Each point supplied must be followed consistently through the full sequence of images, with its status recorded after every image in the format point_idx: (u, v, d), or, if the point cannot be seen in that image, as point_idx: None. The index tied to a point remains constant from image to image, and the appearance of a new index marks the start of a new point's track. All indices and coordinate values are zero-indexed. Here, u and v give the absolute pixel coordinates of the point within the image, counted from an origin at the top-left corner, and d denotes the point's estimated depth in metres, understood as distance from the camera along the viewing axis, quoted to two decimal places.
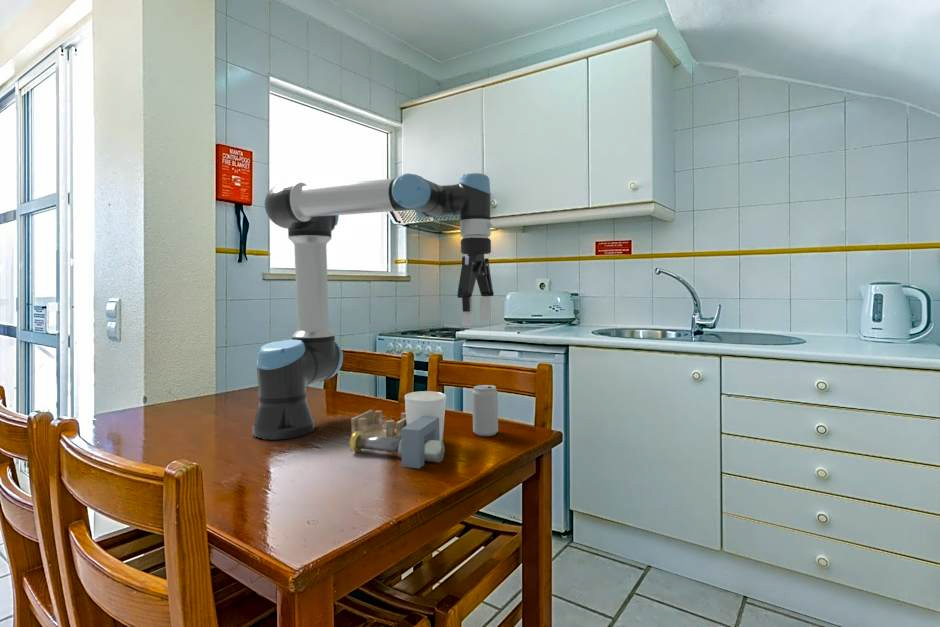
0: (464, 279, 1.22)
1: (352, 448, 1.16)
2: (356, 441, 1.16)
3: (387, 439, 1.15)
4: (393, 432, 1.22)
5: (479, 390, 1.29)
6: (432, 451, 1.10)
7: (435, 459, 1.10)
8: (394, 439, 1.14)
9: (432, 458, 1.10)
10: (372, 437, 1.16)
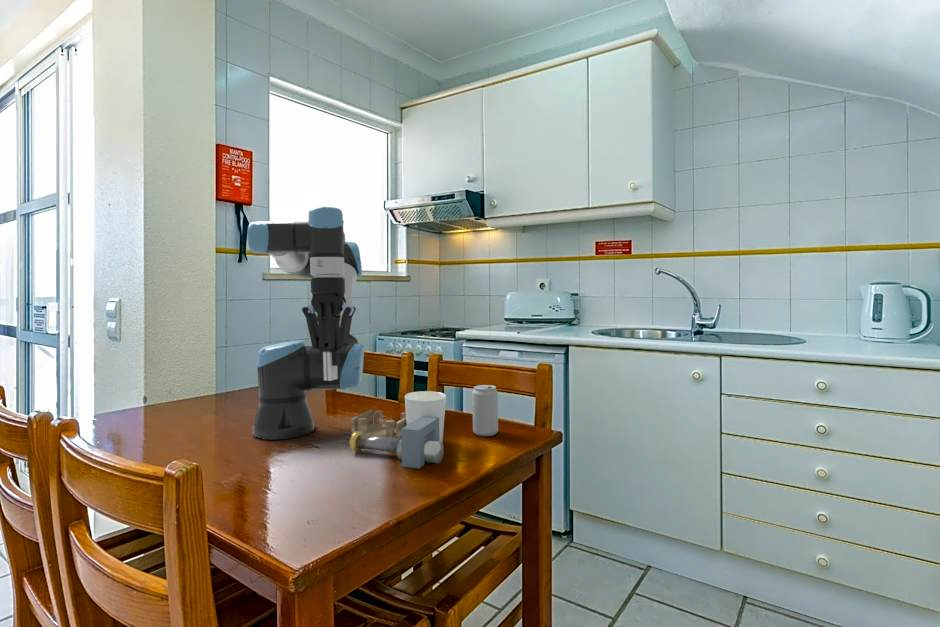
0: None
1: (352, 448, 1.16)
2: (356, 441, 1.16)
3: (387, 439, 1.15)
4: (393, 432, 1.22)
5: (479, 390, 1.29)
6: (431, 455, 1.09)
7: (434, 461, 1.10)
8: (394, 439, 1.14)
9: (431, 461, 1.10)
10: (372, 437, 1.16)
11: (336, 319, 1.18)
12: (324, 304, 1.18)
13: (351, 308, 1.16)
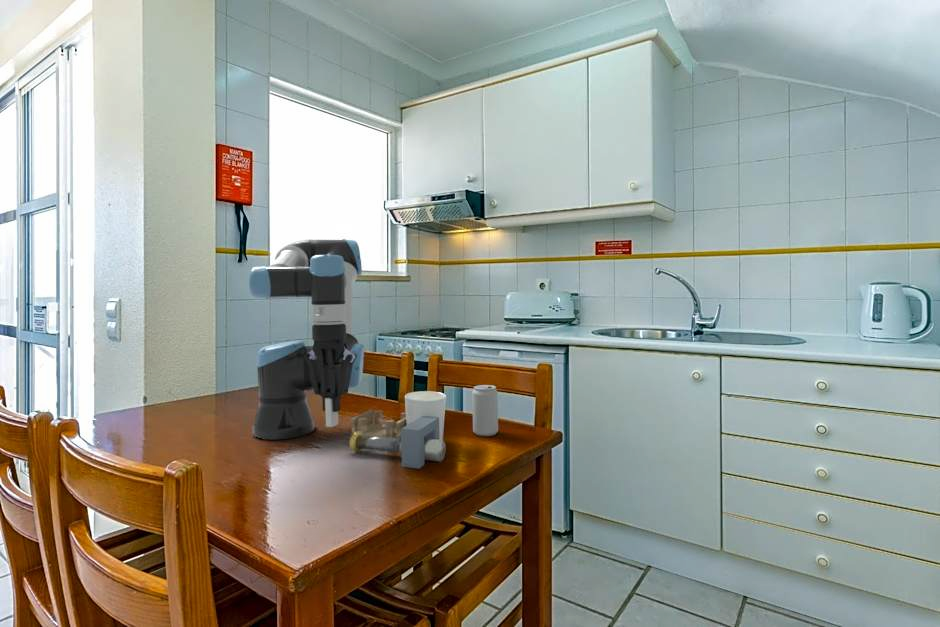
0: None
1: (352, 448, 1.16)
2: (356, 441, 1.16)
3: (387, 439, 1.15)
4: (393, 432, 1.22)
5: (479, 390, 1.29)
6: (433, 448, 1.10)
7: (435, 456, 1.10)
8: (394, 439, 1.14)
9: (432, 455, 1.10)
10: (372, 437, 1.16)
11: (337, 365, 1.19)
12: (325, 351, 1.18)
13: (352, 355, 1.17)
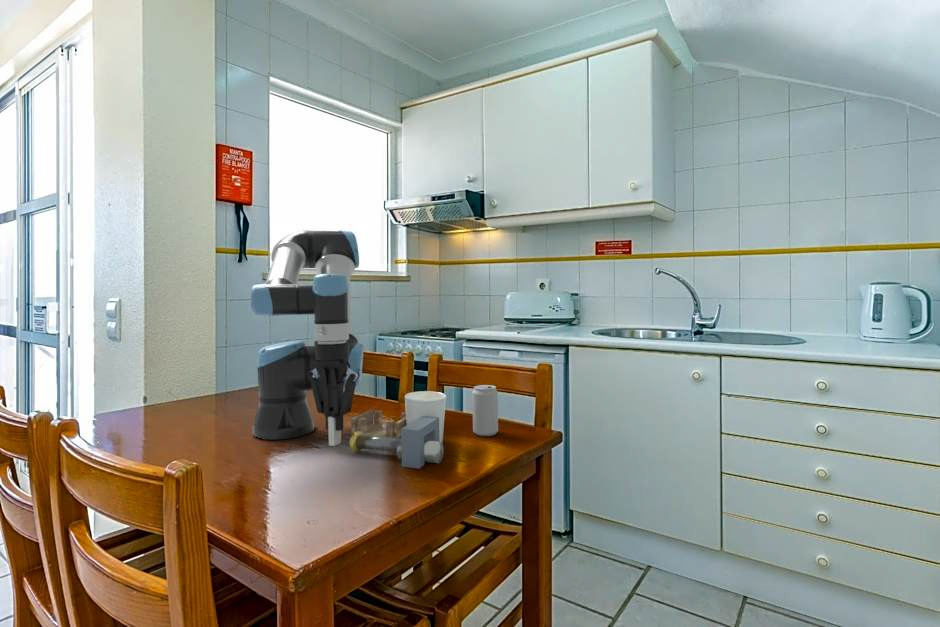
0: None
1: (352, 448, 1.16)
2: (356, 441, 1.16)
3: (387, 439, 1.15)
4: (393, 432, 1.22)
5: (479, 390, 1.29)
6: (431, 455, 1.09)
7: (434, 461, 1.10)
8: (394, 439, 1.14)
9: (431, 461, 1.10)
10: (372, 437, 1.16)
11: (340, 384, 1.19)
12: (328, 369, 1.18)
13: (355, 374, 1.17)
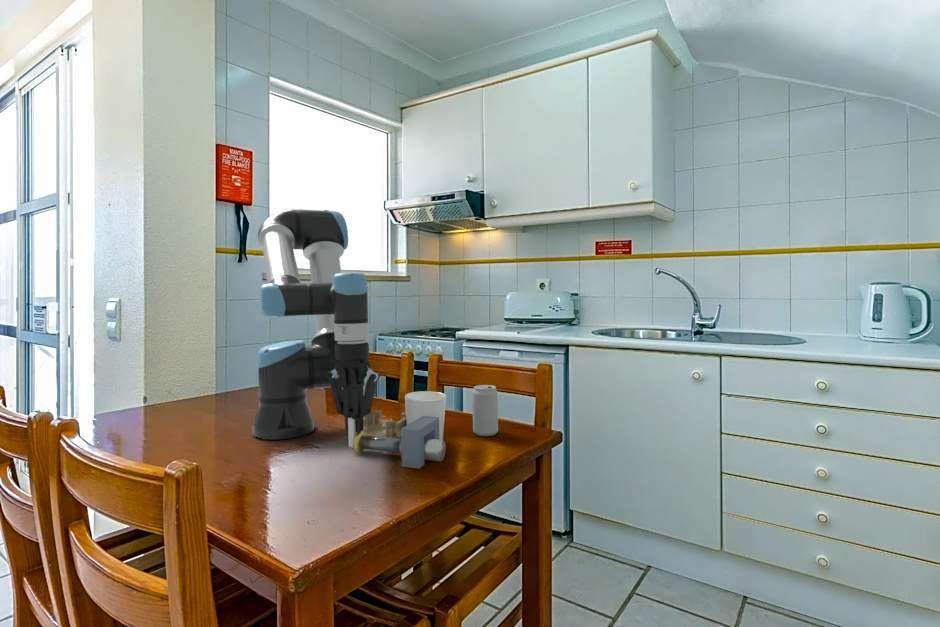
0: None
1: (355, 448, 1.16)
2: (359, 441, 1.16)
3: (391, 439, 1.14)
4: (393, 432, 1.22)
5: (479, 390, 1.29)
6: (434, 448, 1.10)
7: (435, 456, 1.10)
8: (398, 439, 1.14)
9: (432, 455, 1.10)
10: (376, 438, 1.16)
11: (360, 384, 1.17)
12: (348, 370, 1.16)
13: (376, 375, 1.15)
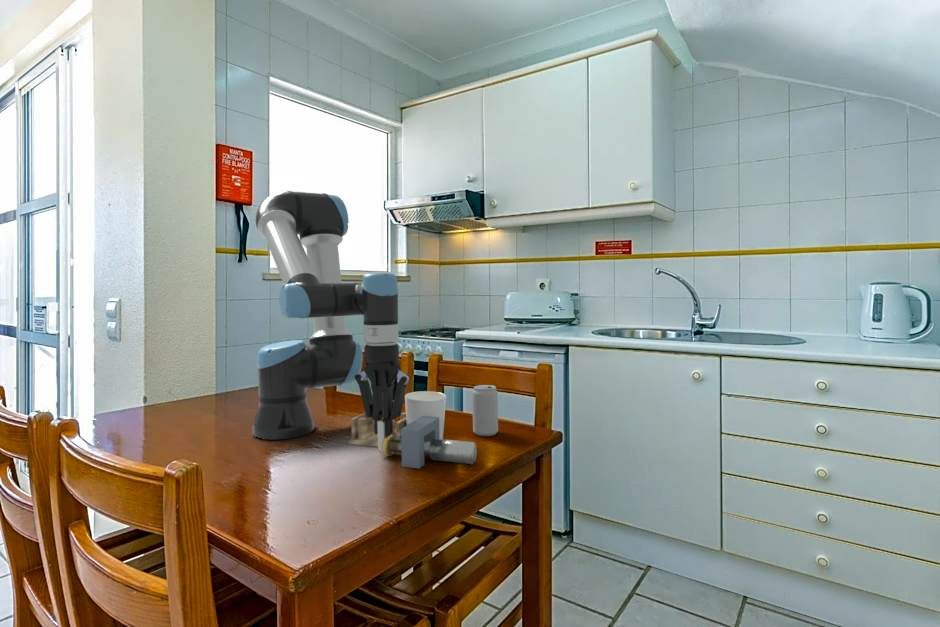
0: None
1: (384, 451, 1.14)
2: (388, 444, 1.14)
3: None
4: (393, 432, 1.22)
5: (479, 390, 1.29)
6: (465, 450, 1.08)
7: (467, 458, 1.08)
8: (428, 442, 1.12)
9: (464, 457, 1.08)
10: None
11: (390, 387, 1.15)
12: (378, 372, 1.14)
13: (406, 377, 1.12)
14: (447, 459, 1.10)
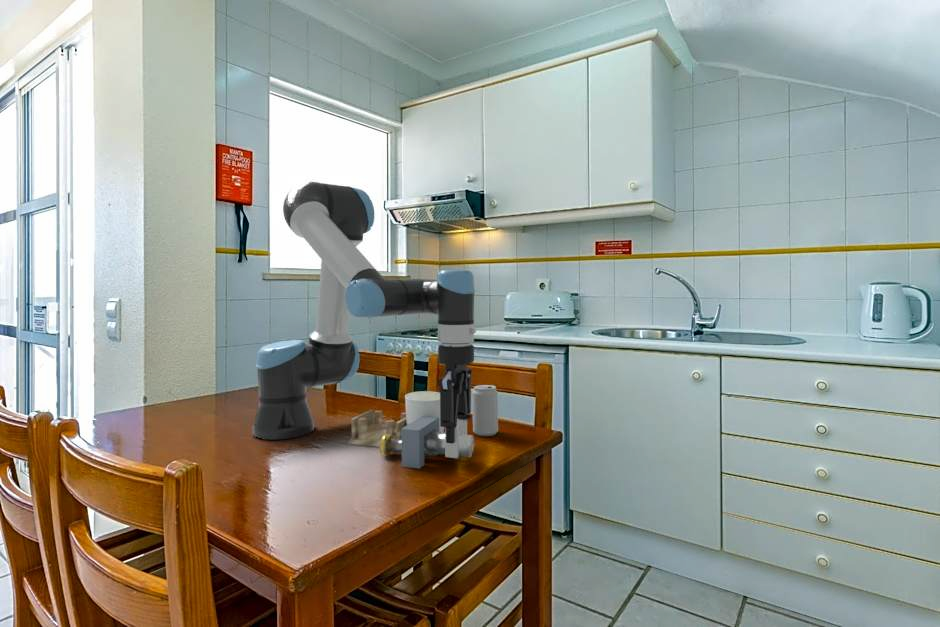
0: (445, 409, 1.04)
1: (382, 451, 1.14)
2: (386, 444, 1.14)
3: None
4: (393, 432, 1.22)
5: (479, 390, 1.29)
6: (463, 440, 1.08)
7: (464, 449, 1.07)
8: (426, 442, 1.12)
9: (461, 448, 1.07)
10: None
11: None
12: None
13: None
14: (444, 450, 1.09)
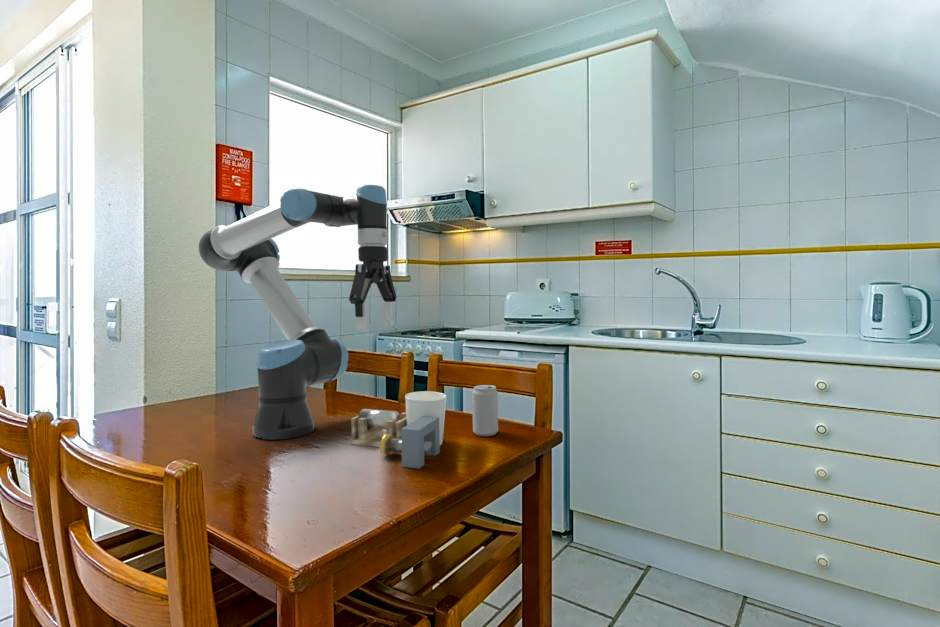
0: (356, 286, 1.28)
1: (382, 451, 1.14)
2: (386, 444, 1.14)
3: None
4: (393, 432, 1.22)
5: (479, 390, 1.29)
6: (388, 418, 1.23)
7: None
8: (426, 442, 1.12)
9: None
10: None
11: None
12: None
13: None
14: (373, 426, 1.25)
